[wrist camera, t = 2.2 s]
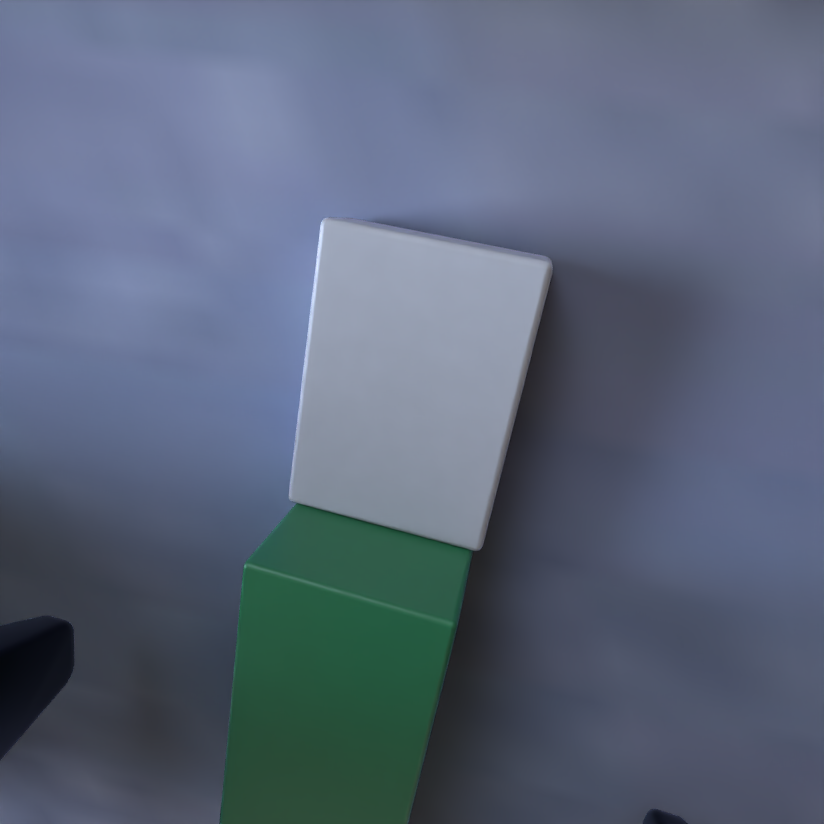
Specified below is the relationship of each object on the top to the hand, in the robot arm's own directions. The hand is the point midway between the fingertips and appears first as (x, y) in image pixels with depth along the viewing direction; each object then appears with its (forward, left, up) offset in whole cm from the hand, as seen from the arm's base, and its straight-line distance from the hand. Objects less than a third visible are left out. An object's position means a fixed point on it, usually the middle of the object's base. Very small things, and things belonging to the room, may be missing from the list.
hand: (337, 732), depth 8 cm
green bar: (-1, +1, -1) cm, 2 cm away
